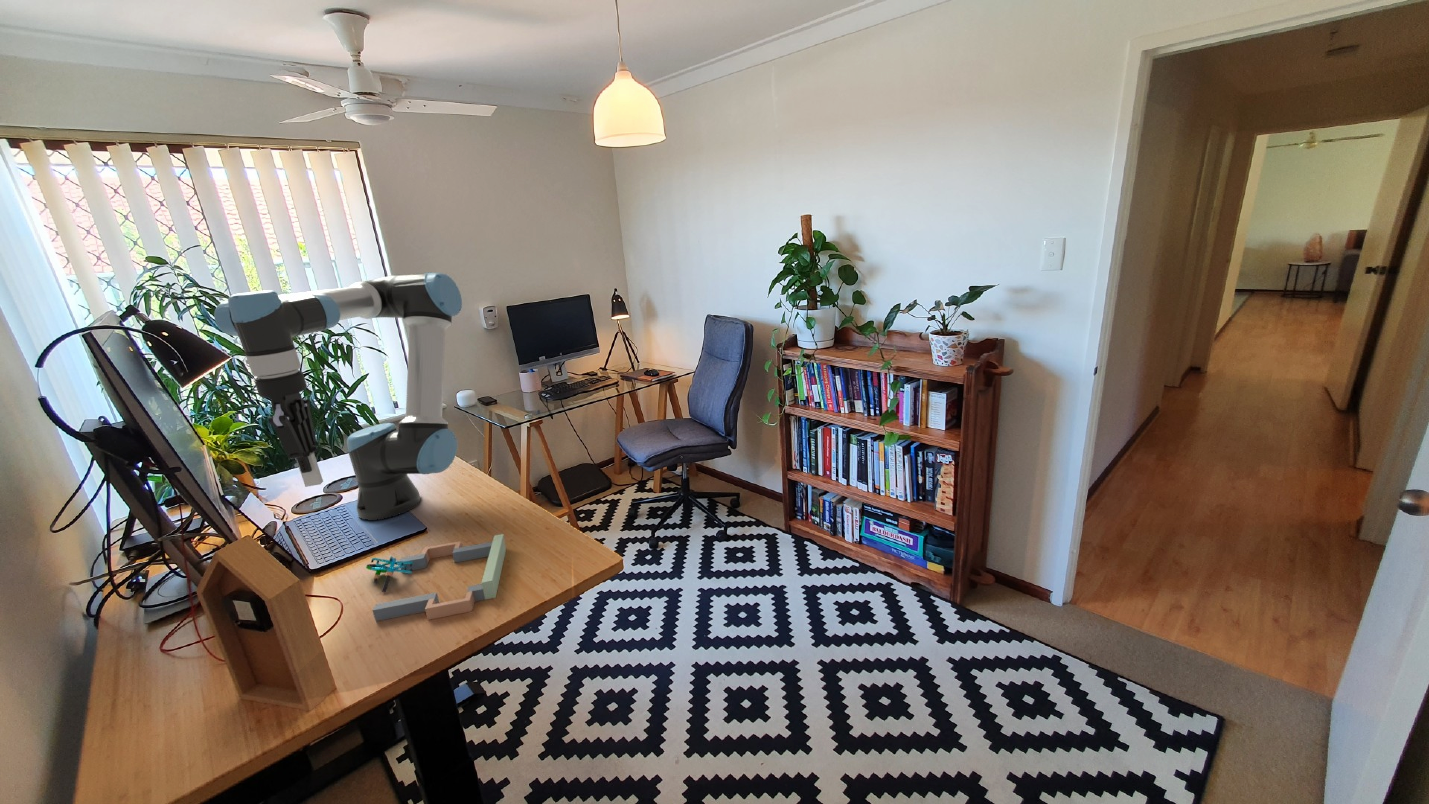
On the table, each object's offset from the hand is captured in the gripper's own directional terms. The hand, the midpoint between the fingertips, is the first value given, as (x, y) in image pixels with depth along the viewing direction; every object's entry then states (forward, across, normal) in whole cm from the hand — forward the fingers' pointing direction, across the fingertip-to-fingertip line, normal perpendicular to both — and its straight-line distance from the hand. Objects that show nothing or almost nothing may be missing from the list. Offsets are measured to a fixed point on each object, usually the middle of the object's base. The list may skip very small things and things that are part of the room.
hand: (314, 484), depth 111 cm
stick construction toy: (+24, +3, +12) cm, 27 cm away
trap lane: (+24, +9, +21) cm, 33 cm away
